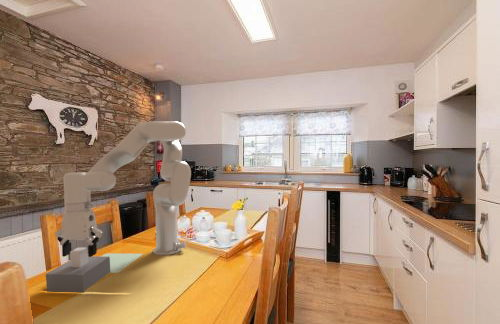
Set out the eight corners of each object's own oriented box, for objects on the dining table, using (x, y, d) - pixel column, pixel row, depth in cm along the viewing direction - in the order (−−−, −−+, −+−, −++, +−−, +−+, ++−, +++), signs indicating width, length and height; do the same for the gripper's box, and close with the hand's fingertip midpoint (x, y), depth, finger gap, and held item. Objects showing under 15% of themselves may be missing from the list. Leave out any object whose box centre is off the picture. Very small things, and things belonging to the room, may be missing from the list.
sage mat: (143, 254, 107) (143, 253, 107) (118, 274, 89) (118, 272, 89) (106, 254, 109) (106, 253, 109) (73, 273, 91) (73, 272, 91)
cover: (110, 272, 90) (108, 242, 90) (83, 292, 77) (81, 258, 77) (78, 271, 91) (76, 242, 91) (47, 291, 78) (44, 257, 78)
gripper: (108, 204, 87) (109, 251, 87) (64, 205, 88) (66, 250, 89) (93, 209, 79) (94, 260, 80) (45, 209, 81) (47, 259, 81)
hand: (79, 255), depth 84 cm, fingers open, 9 cm apart
